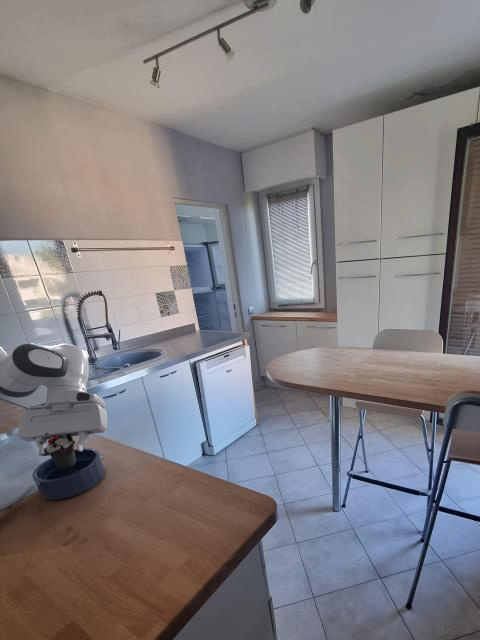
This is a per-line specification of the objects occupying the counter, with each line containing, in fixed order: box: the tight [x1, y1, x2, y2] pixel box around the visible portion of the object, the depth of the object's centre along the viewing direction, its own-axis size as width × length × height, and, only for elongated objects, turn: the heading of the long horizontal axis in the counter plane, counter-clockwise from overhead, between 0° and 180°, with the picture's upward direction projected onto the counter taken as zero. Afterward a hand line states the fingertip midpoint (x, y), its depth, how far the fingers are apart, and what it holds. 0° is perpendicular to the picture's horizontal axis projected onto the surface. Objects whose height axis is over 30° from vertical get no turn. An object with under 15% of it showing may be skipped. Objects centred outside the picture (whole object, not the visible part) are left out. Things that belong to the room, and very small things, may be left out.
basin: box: [31, 447, 106, 501], centre depth 87 cm, size 15×15×6 cm
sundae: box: [44, 433, 76, 475], centre depth 84 cm, size 7×7×15 cm
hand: (61, 453), depth 84 cm, fingers closed on sundae, 6 cm apart
